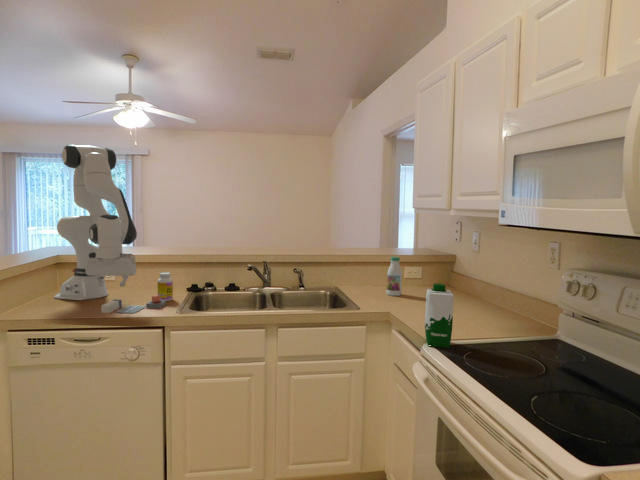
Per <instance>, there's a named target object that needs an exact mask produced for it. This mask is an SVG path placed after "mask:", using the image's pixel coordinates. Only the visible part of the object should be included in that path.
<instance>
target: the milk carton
mask: <svg viewBox="0 0 640 480" xmlns="http://www.w3.org/2000/svg"><path fill="white" fill-rule="evenodd" d="M424 315H425V317H424V331H425V332H424V333H425V340H426V344H427V346H428V345H431V346H430V347H432V346H434V347H433V348H447V349H448V348H451V342H452V333H453V320H454V319H453V318H454V293H453V292H452V291H451V290H450V289H446V284H445V283H433V284H432V288H427V289H426V298H425V314H424Z"/></svg>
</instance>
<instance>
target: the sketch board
mask: <svg viewBox="0 0 640 480" xmlns="http://www.w3.org/2000/svg"><path fill="white" fill-rule="evenodd" d="M145 308H146V305H127V306H126V307H123V308H122V309H121V308H120V309H119V310H117V311H115V313H116V314H136V313H137V312H139V311H141V310H143V309H145Z"/></svg>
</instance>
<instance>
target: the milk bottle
mask: <svg viewBox="0 0 640 480" xmlns="http://www.w3.org/2000/svg"><path fill="white" fill-rule="evenodd" d="M402 272H403V271H402V268H401V265H400V257H399V256H391V257H390V265H389V267H388V269H387V273H386V274H387V276H386V295H388V296H391V297H399V296H400V297H401V295H402V290H403V289H402V287H403V285H402V282H403V273H402Z"/></svg>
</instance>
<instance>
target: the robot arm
mask: <svg viewBox="0 0 640 480" xmlns="http://www.w3.org/2000/svg"><path fill="white" fill-rule="evenodd" d="M61 159H62V162H63V164H64V165H65V166H66V167H68V168H70V169H74V171H73V172H74V173H73V179H72V180H73V201H74V203H75V205H76V206H78V207H79V208H81V209H84V210H86V211H87V212H88V213H89V215H69V216H64V217H61V218H60V219H58V222H57V225H56V230H57V233H58V234H59V236H60V237H62V238H63V239H65V240H66V241H67V242H69V243H70V245H72V247H73V249H74V251H75V257H76V268H74V269H72V270H71V273H73V275H72V276H71V277H69V278H68V279H67V280H65V281H64V282H63V283H62V284H61V285H60V289H59V290H60V291H59V293H56V294H55V295H54V299H59V300H69V301H70V300H71V301H72V300H74V301H84V300H93V299H97V298H98V299H100V298H103V297H106V296H108V295H109V292H108V290H107V286H106V279H105V277H106V276H107V277H108V276H110V277H111V276H112V277H113V276H114V277H117V276H118V277H122V280H121V281H120V282H119V287H126V282H127V280H128V278H129V277H130V276H135V275H136V274H137V265H136V256H135V255H134V254H132V253H123V245H129V246H130V245H131V244H133V243H134V241H135V240H137V237H138V232H137V228H136V225H135V223H134V222H133V219H132V216H131V213H130V210H129V207H128V204H127V200H126V199H125V198H126V197H125V196H124V192H123V191H122V189H120V188H119V187H117V186H116V184H115V183H114V181H113V177H112V175H113V174H112V170H114V169H115V168H116V166H117V162H118V161H117V155H116V153H115V151H114V150H112V149H111V148H107V147H101V146H95V145H94V146H93V145H83V144H82V145H75V144H68V145H65V146H64V147H63V149H62V151H61ZM103 200H104V201H107V202H109V203H111V204H112V205H113V206H114V208H116V212H117V214H118V215H115V214H110V213H109V212H108V211H107V209H106V208H105V207H104V205H103ZM89 240H90V242H92V243H93V244H94V245H93V244H90V242H89ZM97 245H98V246H97Z"/></svg>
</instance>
